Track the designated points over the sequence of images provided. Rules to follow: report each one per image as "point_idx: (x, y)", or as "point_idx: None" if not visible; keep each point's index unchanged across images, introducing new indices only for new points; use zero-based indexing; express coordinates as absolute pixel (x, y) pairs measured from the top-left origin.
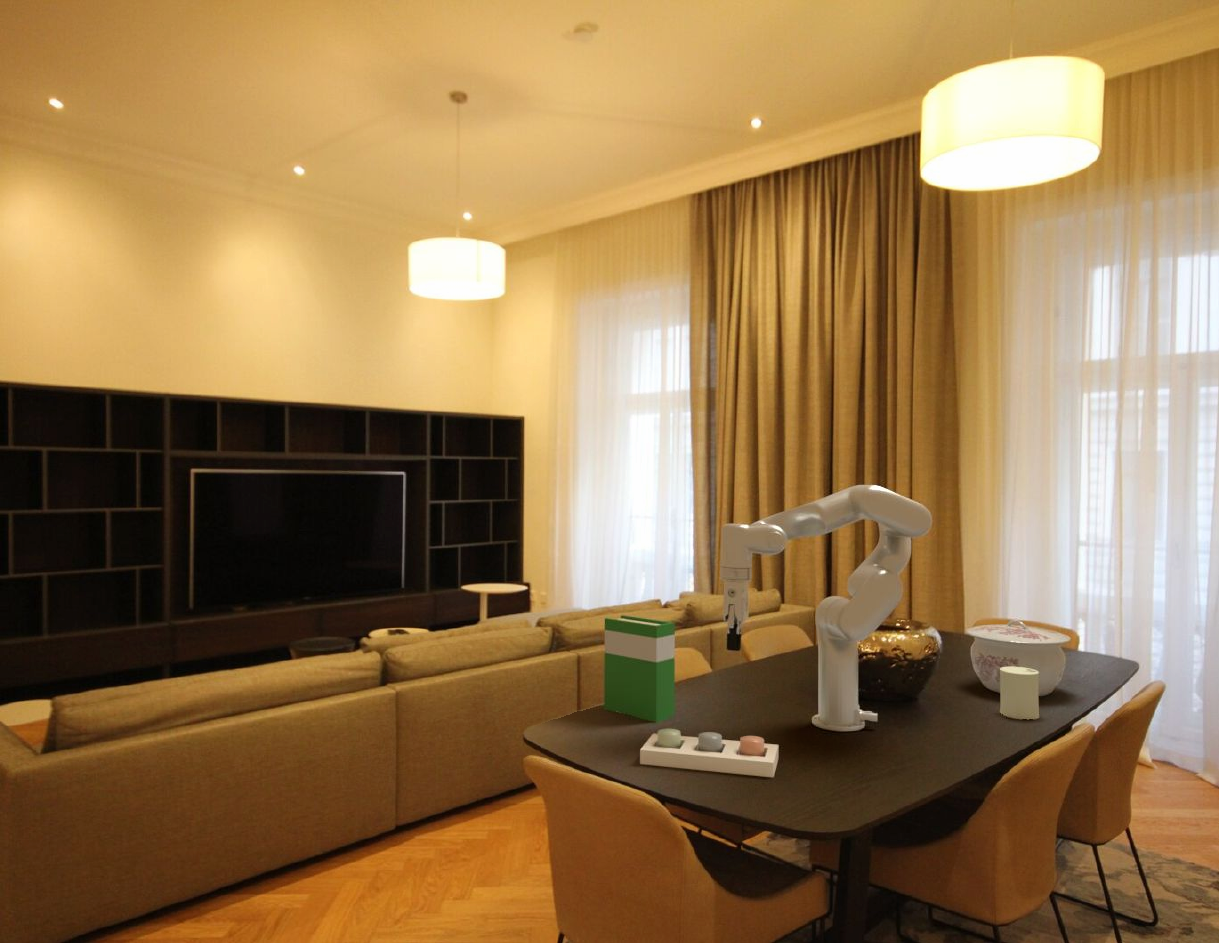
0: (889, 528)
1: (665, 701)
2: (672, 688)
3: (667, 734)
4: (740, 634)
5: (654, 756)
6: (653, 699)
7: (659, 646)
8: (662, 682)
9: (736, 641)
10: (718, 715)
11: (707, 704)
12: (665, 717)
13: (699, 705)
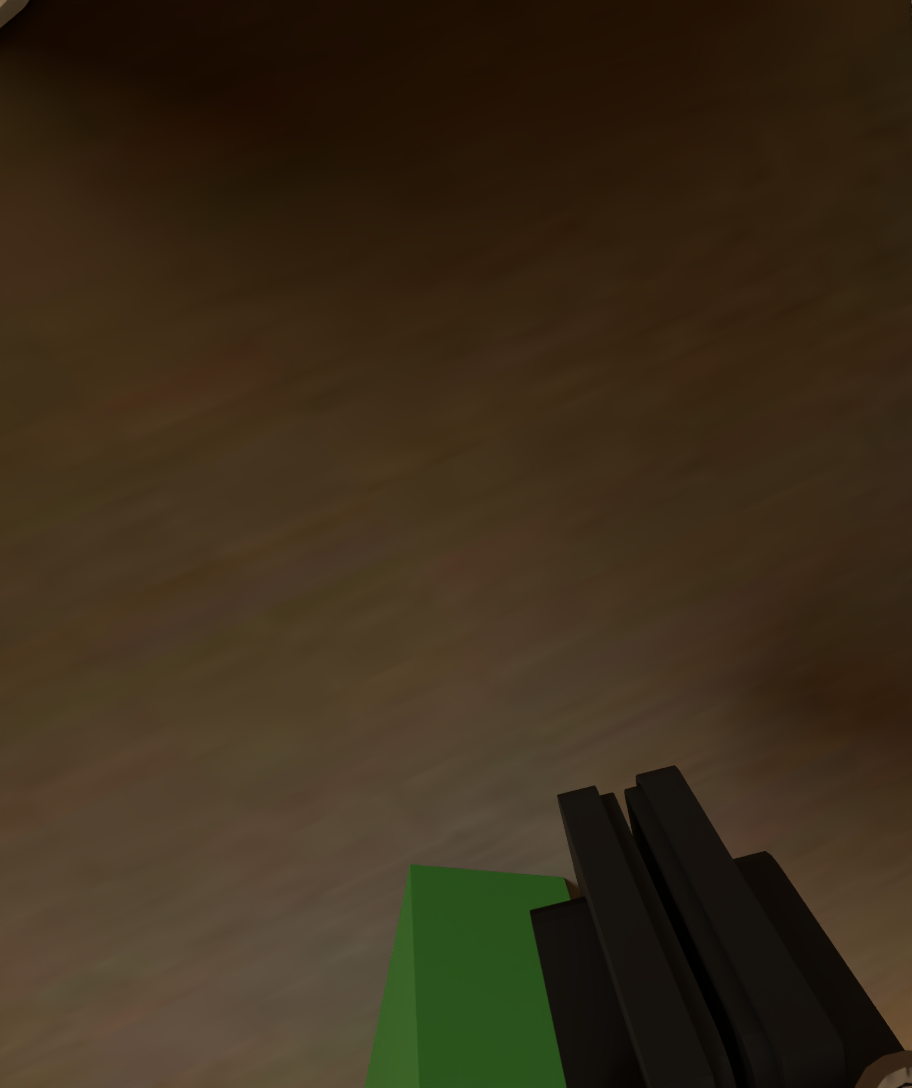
0: None
1: (504, 952)
2: (439, 1010)
3: None
4: (798, 1048)
5: None
6: None
7: None
8: (559, 1077)
9: (795, 935)
10: (244, 694)
11: (67, 841)
12: (490, 878)
13: (121, 864)
